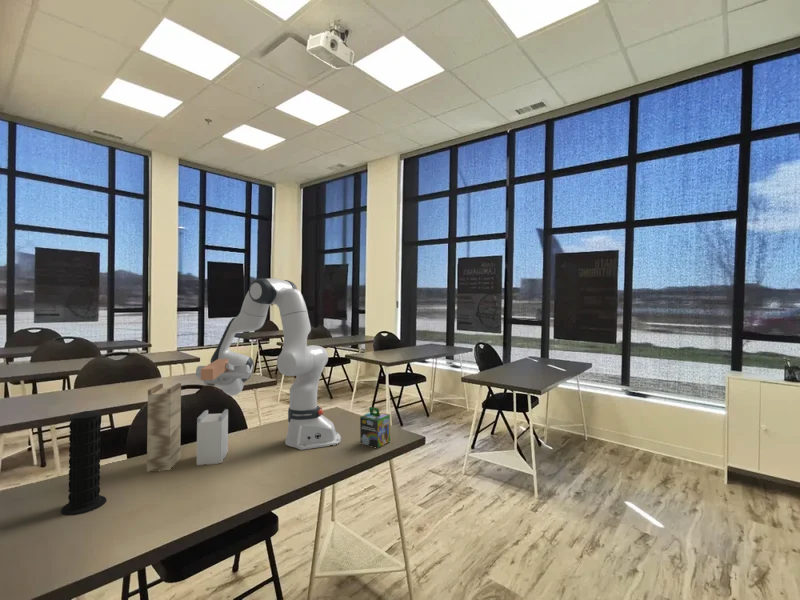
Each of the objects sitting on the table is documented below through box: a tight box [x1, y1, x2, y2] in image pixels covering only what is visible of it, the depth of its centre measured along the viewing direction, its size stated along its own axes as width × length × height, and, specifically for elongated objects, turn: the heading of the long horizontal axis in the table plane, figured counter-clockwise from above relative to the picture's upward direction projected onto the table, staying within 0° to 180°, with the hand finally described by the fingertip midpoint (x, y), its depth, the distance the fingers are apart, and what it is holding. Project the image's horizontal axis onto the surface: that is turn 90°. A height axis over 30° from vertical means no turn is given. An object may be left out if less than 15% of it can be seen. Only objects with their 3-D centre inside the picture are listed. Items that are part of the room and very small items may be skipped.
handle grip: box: [60, 410, 107, 516], centre depth 109 cm, size 10×26×10 cm
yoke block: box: [196, 408, 229, 466], centre depth 142 cm, size 8×10×16 cm
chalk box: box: [359, 406, 391, 449], centre depth 159 cm, size 9×9×15 cm
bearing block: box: [146, 382, 182, 472], centre depth 136 cm, size 7×10×28 cm
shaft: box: [200, 359, 228, 381], centre depth 148 cm, size 4×22×4 cm, turn 11°
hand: (219, 364), depth 153 cm, fingers closed on shaft, 4 cm apart
